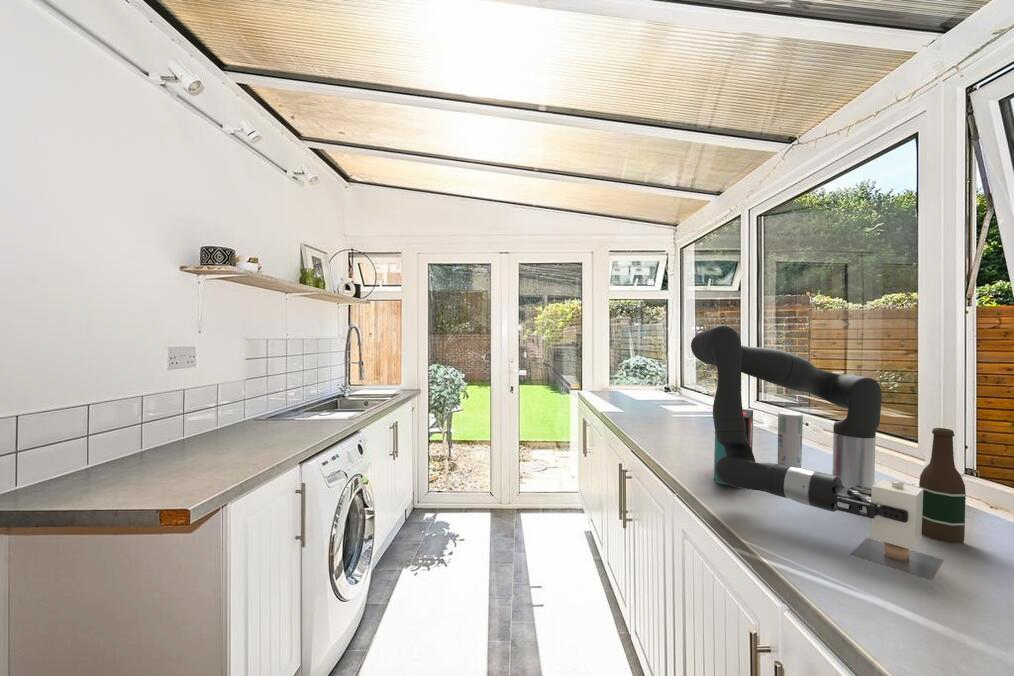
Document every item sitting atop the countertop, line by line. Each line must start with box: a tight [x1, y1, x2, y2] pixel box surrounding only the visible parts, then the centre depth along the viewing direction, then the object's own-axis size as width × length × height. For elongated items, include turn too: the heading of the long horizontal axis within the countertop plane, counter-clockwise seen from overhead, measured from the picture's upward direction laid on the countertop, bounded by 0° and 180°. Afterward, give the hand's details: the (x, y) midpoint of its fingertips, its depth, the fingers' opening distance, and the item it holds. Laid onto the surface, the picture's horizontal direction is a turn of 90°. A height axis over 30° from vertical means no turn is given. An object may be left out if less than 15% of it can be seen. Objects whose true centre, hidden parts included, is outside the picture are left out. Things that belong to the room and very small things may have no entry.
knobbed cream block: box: [869, 479, 923, 551], centre depth 90 cm, size 7×7×11 cm
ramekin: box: [884, 542, 910, 562], centre depth 90 cm, size 4×4×2 cm
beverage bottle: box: [713, 433, 729, 486], centre depth 133 cm, size 6×7×20 cm
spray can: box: [776, 411, 804, 468], centre depth 142 cm, size 6×6×20 cm
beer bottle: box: [918, 427, 967, 545], centre depth 100 cm, size 8×8×24 cm
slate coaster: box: [849, 537, 944, 581], centre depth 90 cm, size 12×12×1 cm
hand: (911, 512), depth 88 cm, fingers closed on knobbed cream block, 6 cm apart
